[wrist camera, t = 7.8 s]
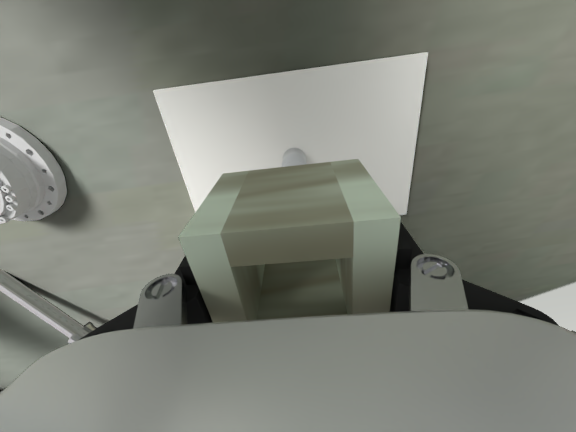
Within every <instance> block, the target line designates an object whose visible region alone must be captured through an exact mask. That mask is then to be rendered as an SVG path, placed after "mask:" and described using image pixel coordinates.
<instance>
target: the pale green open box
mask: <svg viewBox="0 0 576 432" xmlns="http://www.w3.org/2000/svg"><path fill="white" fill-rule="evenodd" d="M400 221H401V217H400V216H399V214H398V213H397V211H396V210H395V209H394V207H393V206H392V205H391V203H390V202H389V200H388V199H387V198H386V196H385V195H384V194H383V192H382V191H381V189H380V188H379V187H378V185H377V184H376V183H375V181H374V180H373V178H372V177H371V176H370V174H369V173H368V172H367V170H366V169H365V167H364V166H363V165H362V163H361V162H360V161H359V159H351V160H342V161H333V162H324V163H315V164H305V165H296V166H287V167H278V168H269V169H259V170H250V171H241V172H232V173H223V174H222V175H221V177H220V178H219V180H218V181H217V182H216V184H215V185H214V187H213V188H212V190H211V191H210V192H209V194H208V195H207V197H206V198H205V200H204V201H203V202H202V204H201V205H200V207H199V208H198V210H197V211H196V212H195V214H194V215H193V217H192V218H191V220H190V221H189V222H188V224H187V225H186V227H185V228H184V230H183V231H182V232H181V234H180V235H179V237H178V238H179V241H180V243H181V246H182V248H183V251H184V253H185V255H186V258H187V260H188V263H189V265H190V268H191V270H192V272H193V275H194V277H195V280H196V282H197V285H198V287H199V290H200V292H201V294H202V297H203V299H204V302H205V304H206V307H207V309H208V311H209V314H210V316H211V319H212V321H213V323H216V322H231V321H246V320H262V319H278V318H294V317H311V316H328V315H346V314H364V313H382V312H390V304H391V295H392V287H393V279H394V270H395V262H396V254H397V246H398V237H399V229H400Z"/></svg>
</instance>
